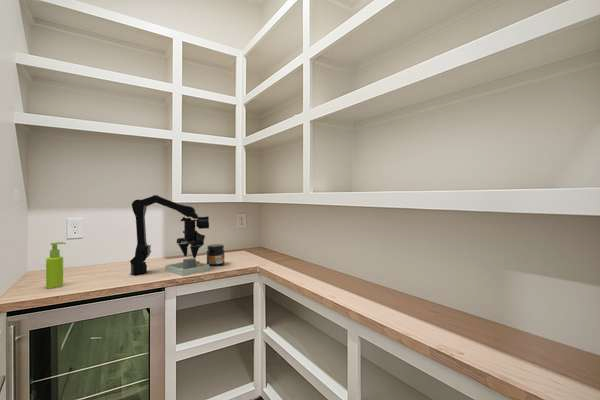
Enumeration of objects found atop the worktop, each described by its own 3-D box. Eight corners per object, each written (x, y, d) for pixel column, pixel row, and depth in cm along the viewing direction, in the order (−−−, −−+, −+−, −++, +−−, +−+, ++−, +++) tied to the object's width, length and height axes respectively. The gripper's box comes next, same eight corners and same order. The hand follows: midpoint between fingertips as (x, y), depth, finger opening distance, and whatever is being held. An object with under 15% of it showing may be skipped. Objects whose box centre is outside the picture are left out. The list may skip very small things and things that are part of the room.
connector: (187, 271, 153) (187, 260, 153) (183, 270, 156) (183, 259, 156) (200, 268, 159) (200, 258, 159) (196, 267, 162) (196, 257, 162)
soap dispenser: (66, 285, 129) (66, 242, 129) (46, 289, 124) (46, 244, 125) (65, 283, 133) (65, 241, 134) (45, 286, 129) (45, 242, 129)
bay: (182, 277, 143) (182, 270, 143) (165, 271, 155) (164, 265, 155) (209, 271, 155) (209, 264, 155) (191, 266, 167) (191, 260, 167)
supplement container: (220, 267, 164) (220, 246, 164) (203, 267, 165) (203, 246, 165) (227, 263, 175) (227, 244, 175) (211, 263, 176) (211, 243, 176)
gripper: (212, 228, 157) (212, 256, 157) (194, 227, 168) (194, 253, 168) (193, 230, 148) (194, 260, 148) (175, 228, 160) (176, 256, 160)
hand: (190, 257), depth 156 cm, fingers open, 9 cm apart
